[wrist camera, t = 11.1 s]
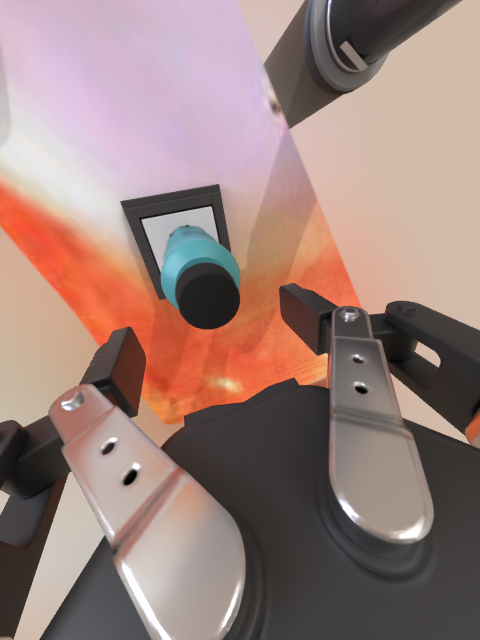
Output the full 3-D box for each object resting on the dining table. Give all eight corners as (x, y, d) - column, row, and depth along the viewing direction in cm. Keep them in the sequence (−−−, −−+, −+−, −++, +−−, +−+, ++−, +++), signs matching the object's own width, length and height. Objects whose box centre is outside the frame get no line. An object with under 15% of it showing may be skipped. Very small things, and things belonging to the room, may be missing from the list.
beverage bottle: (215, 267, 32) (264, 337, 15) (170, 273, 30) (169, 359, 14) (209, 219, 28) (263, 241, 12) (158, 225, 27) (137, 258, 10)
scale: (122, 201, 27) (117, 201, 25) (217, 184, 30) (221, 182, 27) (159, 296, 35) (158, 303, 32) (234, 277, 37) (238, 283, 34)
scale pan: (142, 219, 28) (141, 219, 26) (209, 206, 29) (211, 206, 28) (166, 283, 32) (165, 287, 31) (223, 269, 34) (225, 272, 33)
